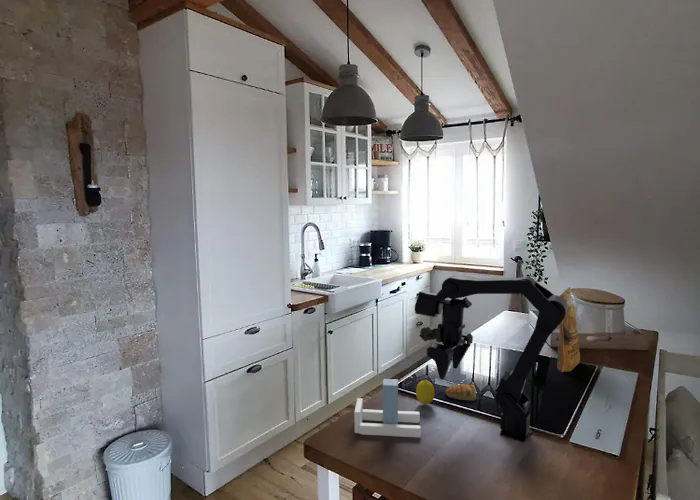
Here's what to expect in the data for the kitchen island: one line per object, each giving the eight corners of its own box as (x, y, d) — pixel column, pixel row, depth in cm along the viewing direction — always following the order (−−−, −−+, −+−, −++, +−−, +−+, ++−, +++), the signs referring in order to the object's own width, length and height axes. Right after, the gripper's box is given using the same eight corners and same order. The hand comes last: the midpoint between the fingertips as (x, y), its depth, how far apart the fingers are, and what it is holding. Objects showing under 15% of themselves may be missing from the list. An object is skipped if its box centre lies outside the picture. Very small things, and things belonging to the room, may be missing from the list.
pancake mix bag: (547, 370, 160) (551, 294, 156) (565, 355, 174) (569, 285, 170) (567, 375, 155) (572, 296, 151) (584, 360, 169) (588, 287, 165)
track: (419, 420, 127) (419, 400, 126) (420, 437, 118) (420, 416, 117) (357, 417, 129) (357, 397, 128) (354, 434, 120) (354, 412, 119)
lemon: (434, 410, 132) (434, 384, 131) (415, 408, 133) (415, 383, 132) (434, 401, 138) (434, 376, 137) (416, 400, 139) (416, 375, 138)
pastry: (446, 400, 138) (446, 389, 138) (444, 391, 145) (444, 380, 145) (477, 401, 138) (477, 389, 137) (473, 392, 144) (473, 380, 144)
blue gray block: (397, 423, 125) (397, 379, 123) (397, 431, 121) (397, 385, 119) (383, 423, 125) (383, 378, 124) (382, 430, 121) (382, 385, 120)
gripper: (439, 307, 136) (436, 356, 139) (410, 322, 121) (407, 376, 124) (475, 314, 130) (471, 365, 132) (449, 331, 115) (445, 388, 117)
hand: (448, 373), depth 126 cm, fingers open, 9 cm apart
